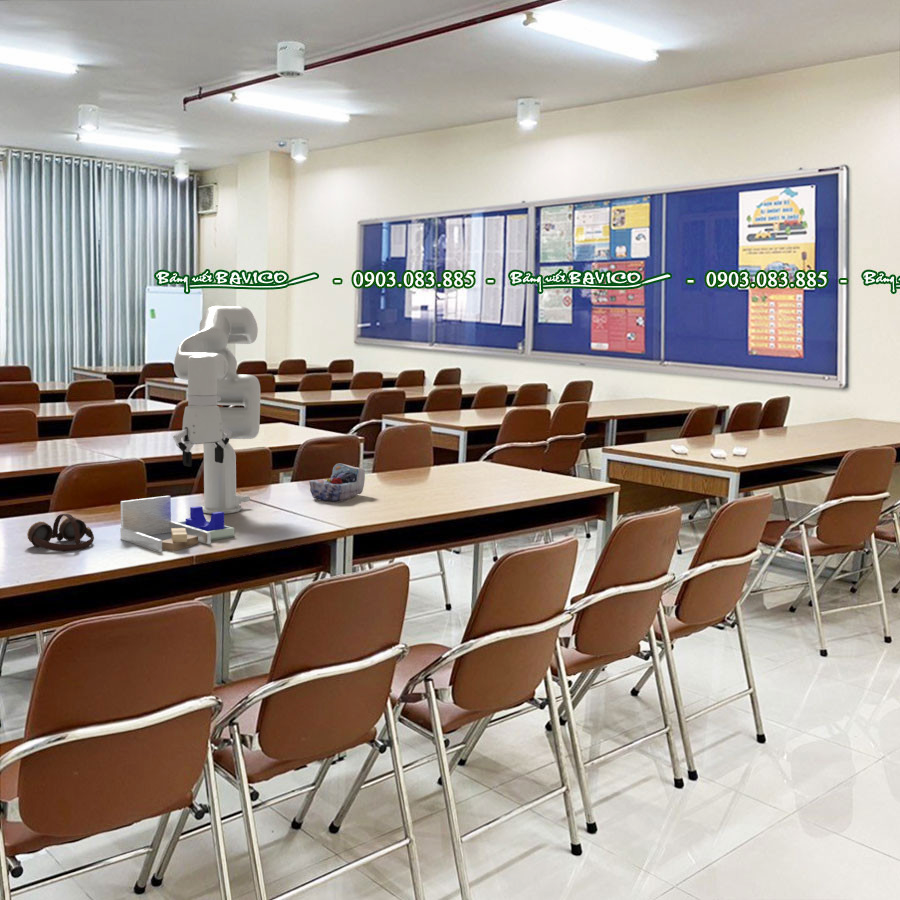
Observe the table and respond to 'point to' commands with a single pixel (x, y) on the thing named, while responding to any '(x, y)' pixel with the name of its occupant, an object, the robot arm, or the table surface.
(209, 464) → the robot arm
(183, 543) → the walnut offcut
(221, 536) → the sage tray
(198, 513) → the cable clip
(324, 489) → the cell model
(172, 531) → the oak offcut
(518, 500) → the table surface
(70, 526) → the goggles
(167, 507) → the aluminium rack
